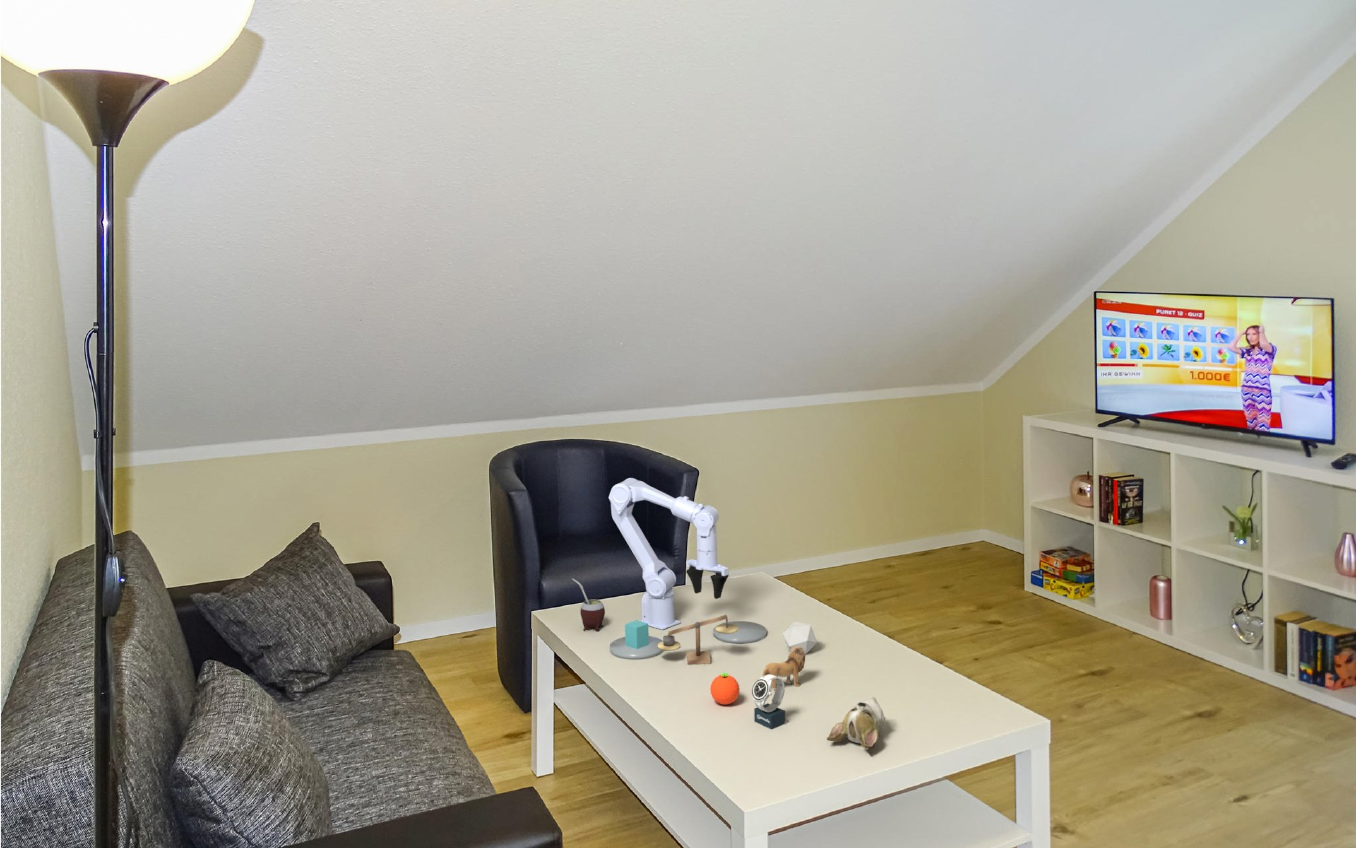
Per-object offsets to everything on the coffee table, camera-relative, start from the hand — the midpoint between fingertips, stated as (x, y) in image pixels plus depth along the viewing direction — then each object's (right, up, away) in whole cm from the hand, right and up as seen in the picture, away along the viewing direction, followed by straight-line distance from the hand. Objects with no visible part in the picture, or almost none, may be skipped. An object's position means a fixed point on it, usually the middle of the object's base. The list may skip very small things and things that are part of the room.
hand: (707, 595), depth 292 cm
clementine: (+3, -17, -49) cm, 52 cm away
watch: (+12, -19, -61) cm, 65 cm away
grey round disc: (+9, -10, -4) cm, 14 cm away
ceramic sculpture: (+31, -20, -70) cm, 80 cm away
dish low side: (-20, -12, -14) cm, 27 cm away
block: (-20, -11, -14) cm, 27 cm away
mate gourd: (-34, -11, +3) cm, 35 cm away
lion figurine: (+17, -16, -41) cm, 47 cm away
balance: (-3, -13, -22) cm, 26 cm away
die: (+24, -12, -18) cm, 33 cm away
